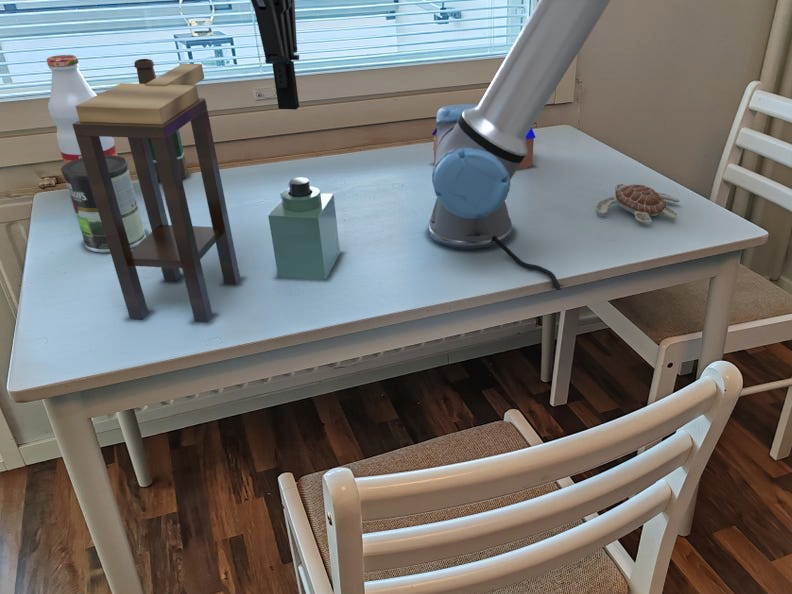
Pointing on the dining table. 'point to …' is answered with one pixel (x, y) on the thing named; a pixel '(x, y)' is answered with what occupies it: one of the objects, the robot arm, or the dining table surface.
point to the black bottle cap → (299, 187)
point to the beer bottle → (147, 75)
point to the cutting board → (145, 99)
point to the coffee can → (88, 209)
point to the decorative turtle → (639, 202)
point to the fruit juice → (70, 105)
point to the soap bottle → (304, 235)
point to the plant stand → (161, 207)
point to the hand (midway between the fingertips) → (288, 107)
